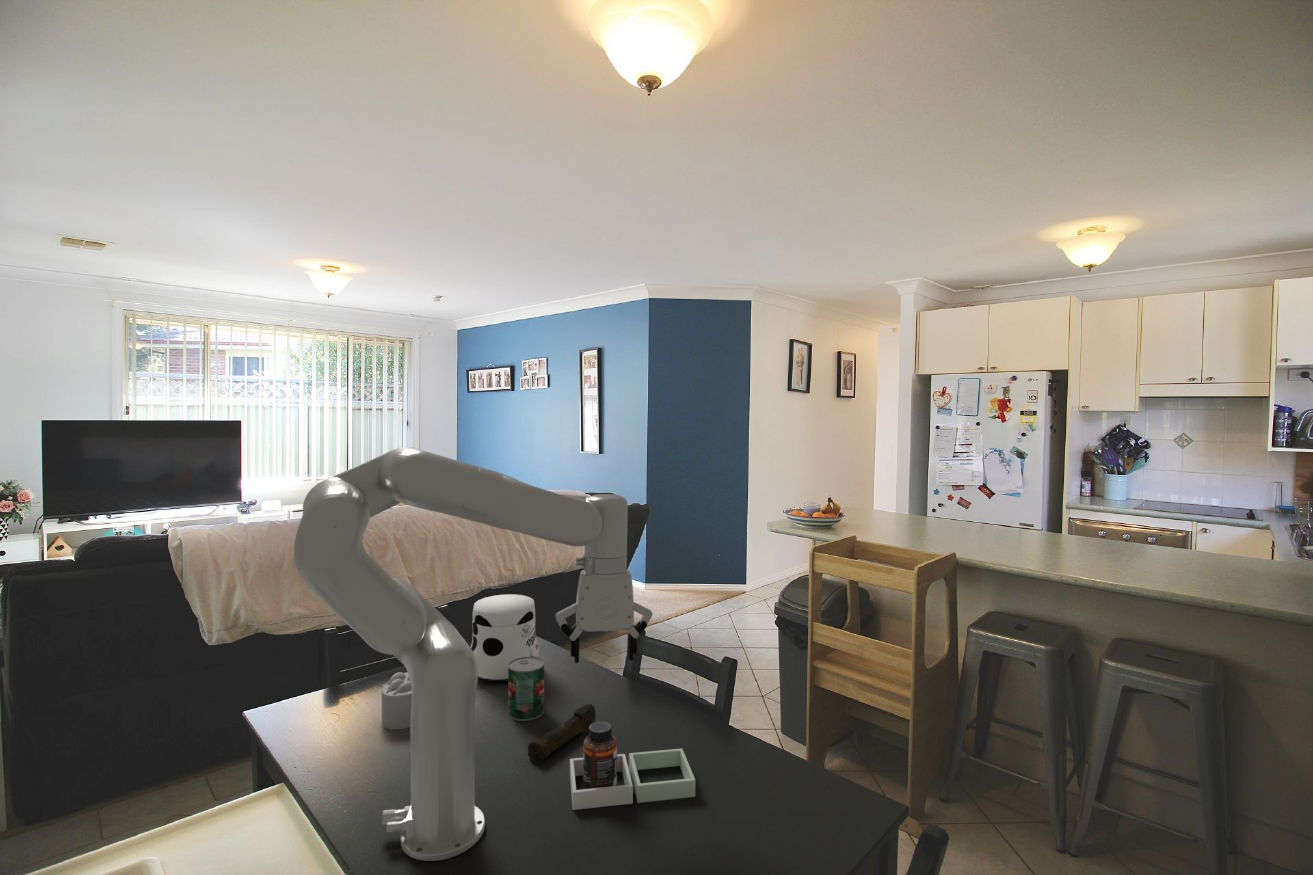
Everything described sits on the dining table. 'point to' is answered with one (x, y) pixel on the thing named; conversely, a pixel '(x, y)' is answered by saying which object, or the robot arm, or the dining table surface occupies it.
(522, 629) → the milk container
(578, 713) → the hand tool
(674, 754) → the sage bin
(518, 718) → the canned tomato
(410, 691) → the lumpy-topped squat cylinder
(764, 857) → the dining table surface
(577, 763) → the grey bin
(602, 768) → the supplement bottle
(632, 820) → the dining table surface
